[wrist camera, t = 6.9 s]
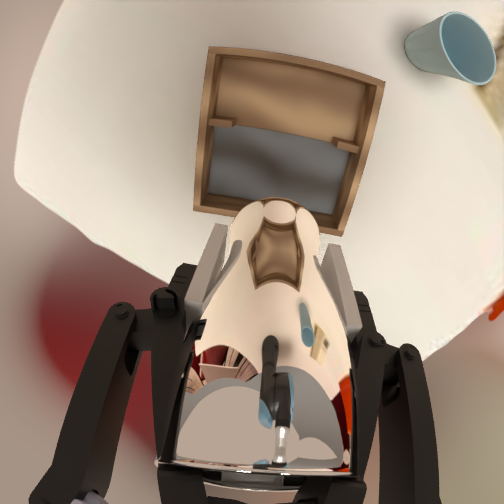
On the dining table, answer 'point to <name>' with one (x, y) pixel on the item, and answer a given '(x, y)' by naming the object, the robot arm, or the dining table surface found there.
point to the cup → (453, 49)
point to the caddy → (283, 133)
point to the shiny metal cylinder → (266, 364)
